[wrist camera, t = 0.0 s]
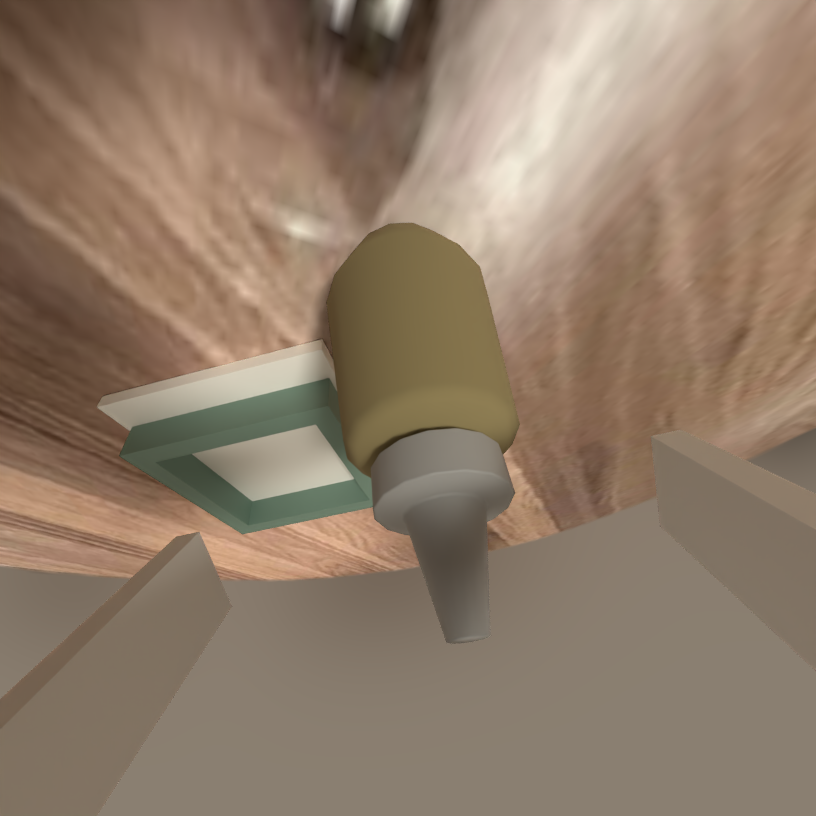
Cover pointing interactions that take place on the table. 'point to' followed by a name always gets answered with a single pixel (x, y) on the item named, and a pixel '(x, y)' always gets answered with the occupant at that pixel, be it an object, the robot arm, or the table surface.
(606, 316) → the table surface
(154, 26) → the table surface
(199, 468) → the collar stand
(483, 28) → the table surface
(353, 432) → the squeeze bottle
